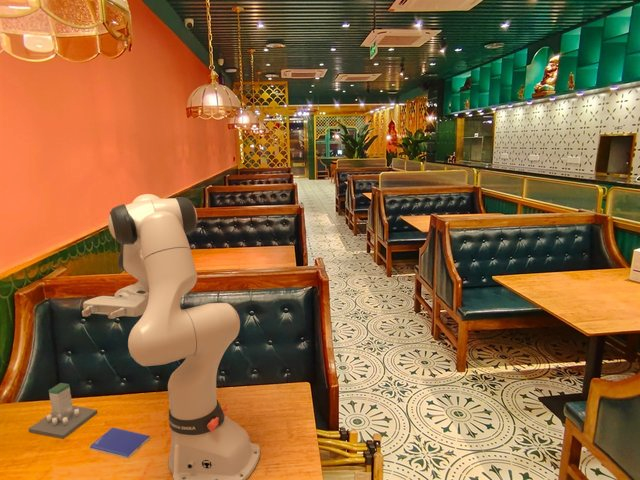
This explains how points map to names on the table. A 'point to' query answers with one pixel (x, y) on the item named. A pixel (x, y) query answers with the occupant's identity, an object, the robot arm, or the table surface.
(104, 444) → the hard drive
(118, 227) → the robot arm
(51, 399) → the block
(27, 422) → the table surface
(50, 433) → the dock
